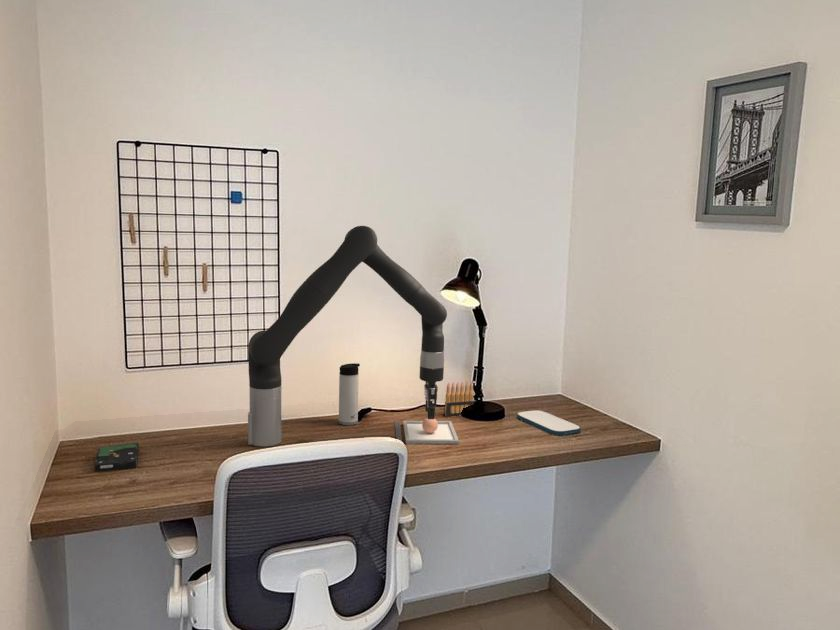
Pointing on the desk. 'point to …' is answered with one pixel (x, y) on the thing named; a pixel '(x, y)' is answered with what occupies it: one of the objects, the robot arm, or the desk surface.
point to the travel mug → (348, 394)
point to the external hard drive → (548, 422)
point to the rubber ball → (430, 425)
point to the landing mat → (419, 436)
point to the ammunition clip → (458, 399)
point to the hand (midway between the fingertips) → (429, 415)
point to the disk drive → (117, 457)
